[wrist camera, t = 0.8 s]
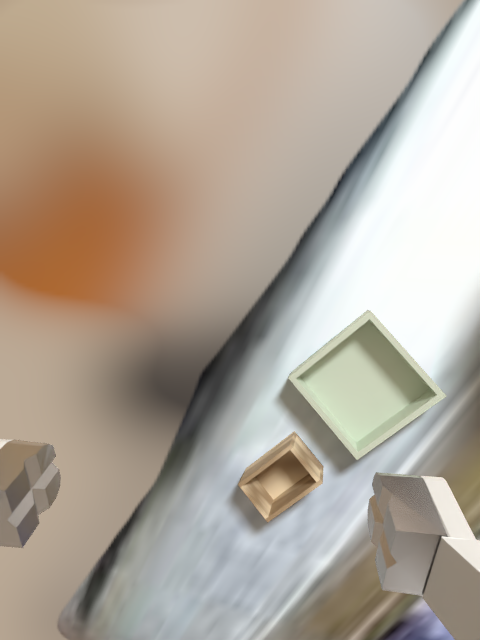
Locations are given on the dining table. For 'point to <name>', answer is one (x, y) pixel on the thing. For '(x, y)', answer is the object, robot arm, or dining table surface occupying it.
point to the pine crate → (281, 477)
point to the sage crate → (365, 385)
